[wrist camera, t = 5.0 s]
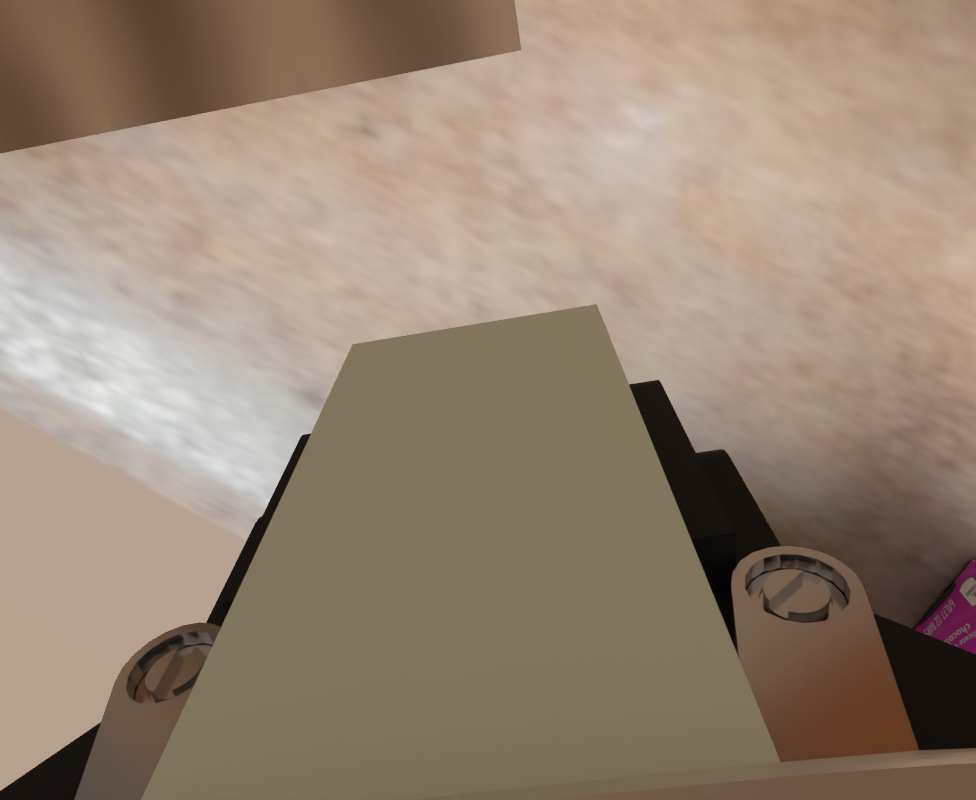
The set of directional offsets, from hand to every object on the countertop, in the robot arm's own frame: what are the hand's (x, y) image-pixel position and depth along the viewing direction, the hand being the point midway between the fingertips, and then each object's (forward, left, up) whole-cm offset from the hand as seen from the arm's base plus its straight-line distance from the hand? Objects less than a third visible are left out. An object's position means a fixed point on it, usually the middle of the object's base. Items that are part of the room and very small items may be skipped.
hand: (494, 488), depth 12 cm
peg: (0, 0, -2) cm, 2 cm away
